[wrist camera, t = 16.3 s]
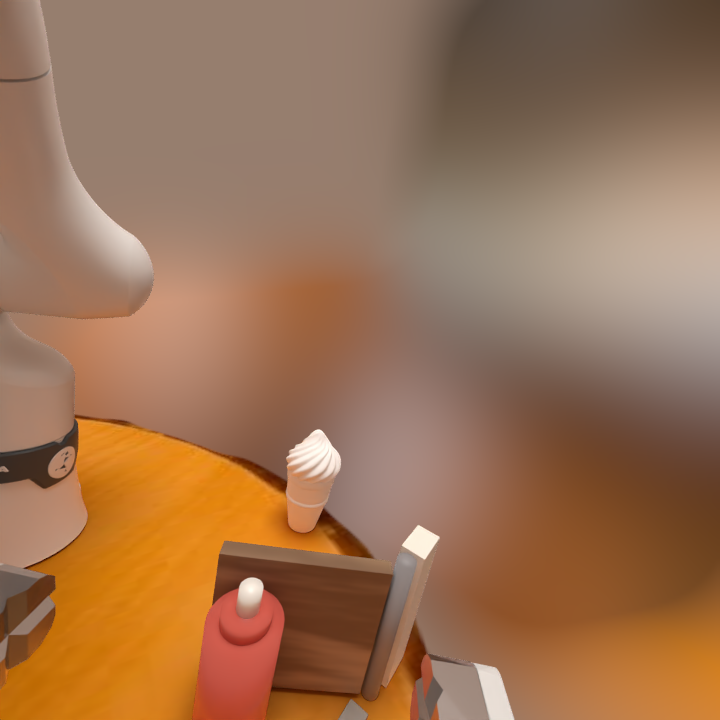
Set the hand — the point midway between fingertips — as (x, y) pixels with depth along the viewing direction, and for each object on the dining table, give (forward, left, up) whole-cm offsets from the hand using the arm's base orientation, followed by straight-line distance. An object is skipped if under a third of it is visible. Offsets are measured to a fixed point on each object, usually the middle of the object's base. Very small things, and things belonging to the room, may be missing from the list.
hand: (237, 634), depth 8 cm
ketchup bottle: (-3, +16, -32) cm, 36 cm away
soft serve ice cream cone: (-2, +43, -32) cm, 54 cm away
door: (+1, +21, -31) cm, 38 cm away
